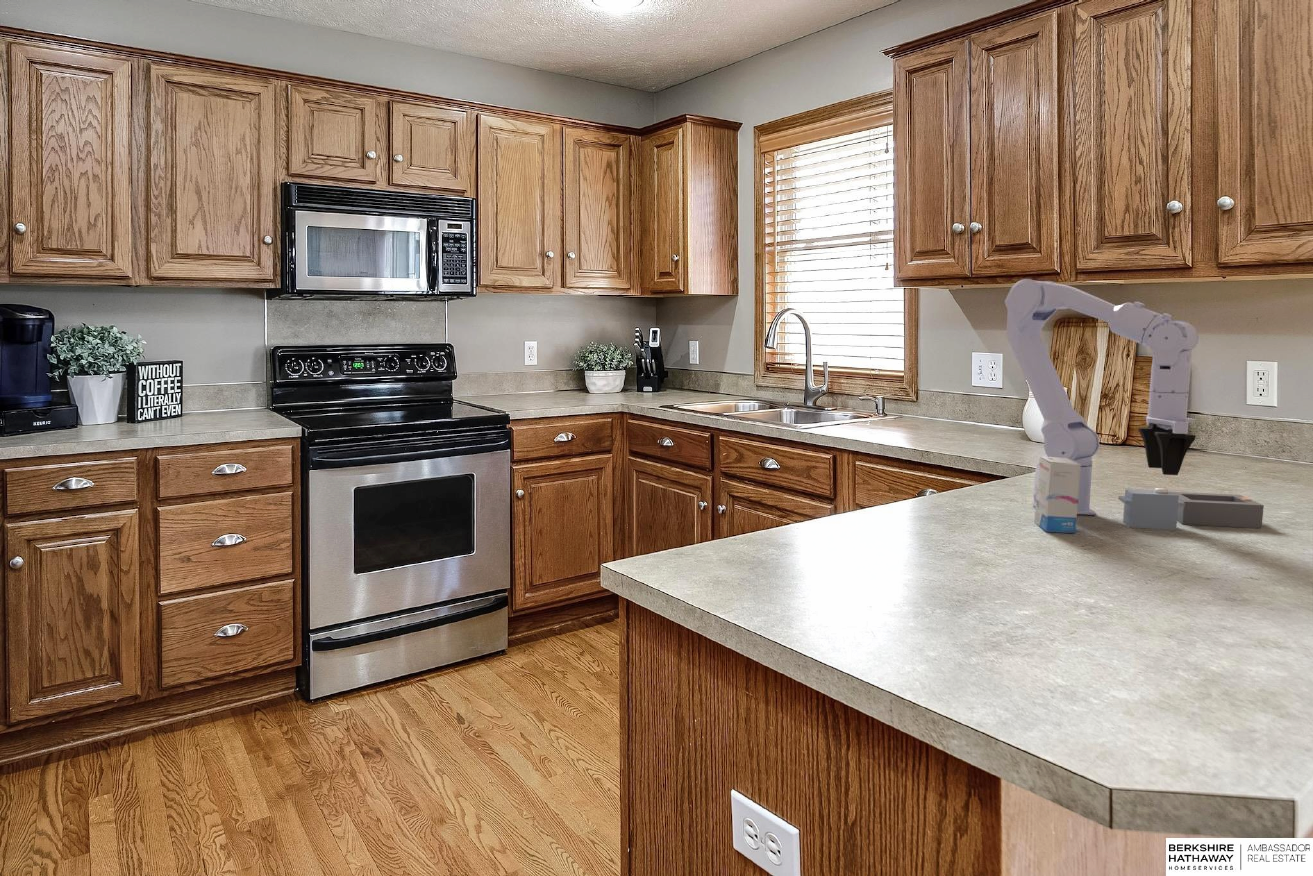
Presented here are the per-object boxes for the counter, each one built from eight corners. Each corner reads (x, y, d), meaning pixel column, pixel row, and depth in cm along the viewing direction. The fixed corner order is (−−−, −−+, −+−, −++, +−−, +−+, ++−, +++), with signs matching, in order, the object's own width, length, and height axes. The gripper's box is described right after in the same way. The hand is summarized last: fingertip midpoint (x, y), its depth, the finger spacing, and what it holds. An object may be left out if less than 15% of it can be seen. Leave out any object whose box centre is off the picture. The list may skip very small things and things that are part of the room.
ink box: (1077, 534, 140) (1082, 463, 138) (1045, 532, 141) (1049, 462, 139) (1063, 523, 148) (1068, 456, 147) (1033, 521, 149) (1037, 455, 148)
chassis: (1182, 524, 147) (1184, 500, 147) (1164, 512, 157) (1165, 490, 156) (1261, 528, 144) (1263, 504, 144) (1238, 516, 154) (1240, 493, 153)
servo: (1123, 527, 145) (1126, 489, 144) (1116, 522, 149) (1119, 485, 148) (1182, 530, 143) (1185, 492, 142) (1174, 525, 147) (1176, 487, 146)
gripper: (1212, 395, 136) (1204, 479, 137) (1180, 390, 150) (1174, 465, 151) (1163, 394, 138) (1156, 477, 139) (1136, 389, 151) (1130, 464, 153)
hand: (1162, 471), depth 145 cm, fingers open, 7 cm apart
